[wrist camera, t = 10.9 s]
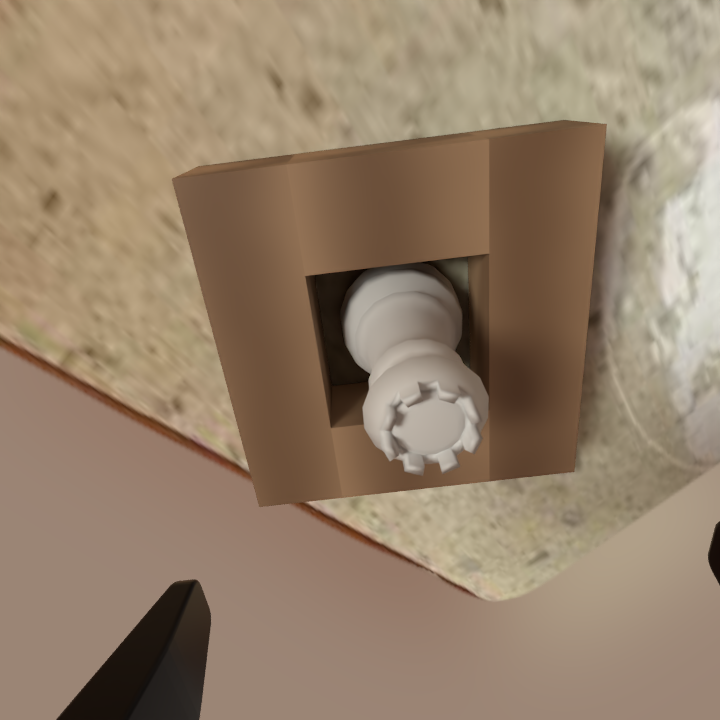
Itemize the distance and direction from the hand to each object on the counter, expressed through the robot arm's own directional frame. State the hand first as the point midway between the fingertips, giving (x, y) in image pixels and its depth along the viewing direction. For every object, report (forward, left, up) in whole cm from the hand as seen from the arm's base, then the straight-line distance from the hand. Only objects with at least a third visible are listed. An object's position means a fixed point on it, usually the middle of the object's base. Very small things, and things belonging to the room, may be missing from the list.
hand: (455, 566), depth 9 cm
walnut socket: (0, 0, -12) cm, 12 cm away
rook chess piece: (0, 0, -12) cm, 12 cm away
